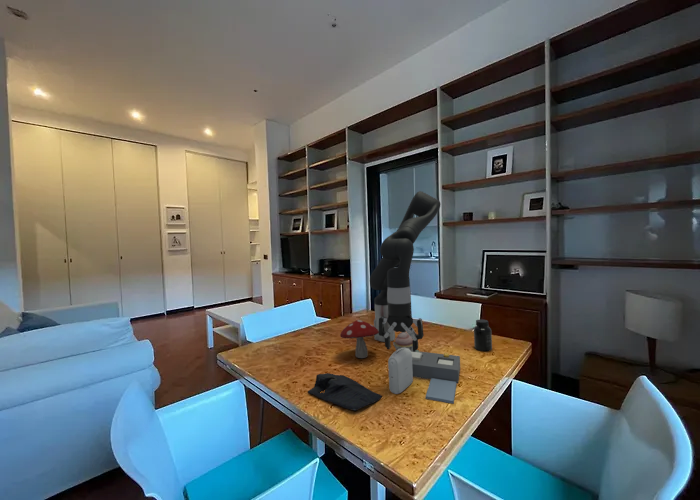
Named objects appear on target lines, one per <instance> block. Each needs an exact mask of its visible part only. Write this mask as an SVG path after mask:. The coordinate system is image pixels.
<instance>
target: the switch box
mask: <svg viewBox="0 0 700 500" xmlns="http://www.w3.org/2000/svg"><path fill="white" fill-rule="evenodd" d="M410 351H411V352H413V351H412V350H410ZM416 352H420V353H422V359H421V361H414V360H412V368H413V378H419V379H424V380H431V378H435V379H441V380H448V381H455V382H456V385H457V384H459V380H460V373H461V372H460V371H461V355H455V354H450V353H448V352H444V353H437V352H436V353H435V352H429V351H428V352H427V351H420V350H419V349H417V350H416ZM439 359H441V360H449V361H453V365H446V364H438V361H439Z"/></svg>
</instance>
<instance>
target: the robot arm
mask: <svg viewBox="0 0 700 500" xmlns="http://www.w3.org/2000/svg"><path fill="white" fill-rule="evenodd" d="M440 208H441V202H440V201H439V199H437V198H436V197H433V196H432V195H429V194H427V193H426V192H424V191H421V190H419V191H417V192H416V193H415V194H414V196H413V197H412V198H411V201H410V203H409V205H408V208H407V210H406V211H405V214H404V216H403V219H402V221H401V222H400V225H399V226H398V228H397V230H396V231H395V232H393V233H391V234H390V235H388V236H387V237H386V238H385V239H384V240H383V241H382V242H381V245H380V249H379V251H380V256H381V259H380V261H379V262H378V264H377V265H376V267H375V268H374V270H373V271H372V272H371V275H370V277H369V285H370V288H371V289H372V290H374V291H380V292H379V293H378V295H376V296H375V297H374V319H373V326H374V327H375V328H376V329H378V331H379V333H378V334H377V335H374V340H376V341H379V342H383V343H384V347H385V348H386V349H387V350H390V349H391V342H392V341H393V342H394V341H395V339H396V333H399V332H400V333H402V332H404V333H405V332H406V333H407V334H408V335H410V336H411V338H412V339H413V341H412V342H413V352H416V350H419V340H422V339H423V337H424V335H425V334H424V328H423V327H424V325H423V319H422V318H418V319H415V318H413V315H412V294H411V287H410V286H411V285H410V270H411V266H412V265H411V264H412V261H413V256H414V251H415V248H414V247H415V246H414V243H416V241H417V239H418V237H420V234H421V233H422V231H423V230H425V228H426V227H427V226H428V225H429V224H430V223H431V222H432V221H433V220H434V218H435V217H436V216H437V214H438V213H439V210H440ZM414 216H416V217H414ZM413 324H414V325H415V327H417V333H416V331H415V329H414V328H413V327H412V325H413Z"/></svg>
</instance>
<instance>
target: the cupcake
mask: <svg viewBox="0 0 700 500" xmlns="http://www.w3.org/2000/svg"><path fill="white" fill-rule="evenodd" d="M412 341H413V339H412V338H411V336H410V335H408V333H407V332H405V333H404V332H400V333H398V334H397V336H395V339H394V341H393V342H392V344H393V346H394V348H395V351H396V350H398V349H400V348H408V349H410V350H412V351H413V342H412Z"/></svg>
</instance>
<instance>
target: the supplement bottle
mask: <svg viewBox="0 0 700 500" xmlns="http://www.w3.org/2000/svg"><path fill="white" fill-rule="evenodd" d="M492 334H493V333H492V328H491V327H490V325H489V321H488V320H487V319H477V320H475V326H474V327H473V341H474V345H473V346H474V348H475V349H474V350H477V351H479V352H491V351H492V349H493V337H492Z"/></svg>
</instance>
